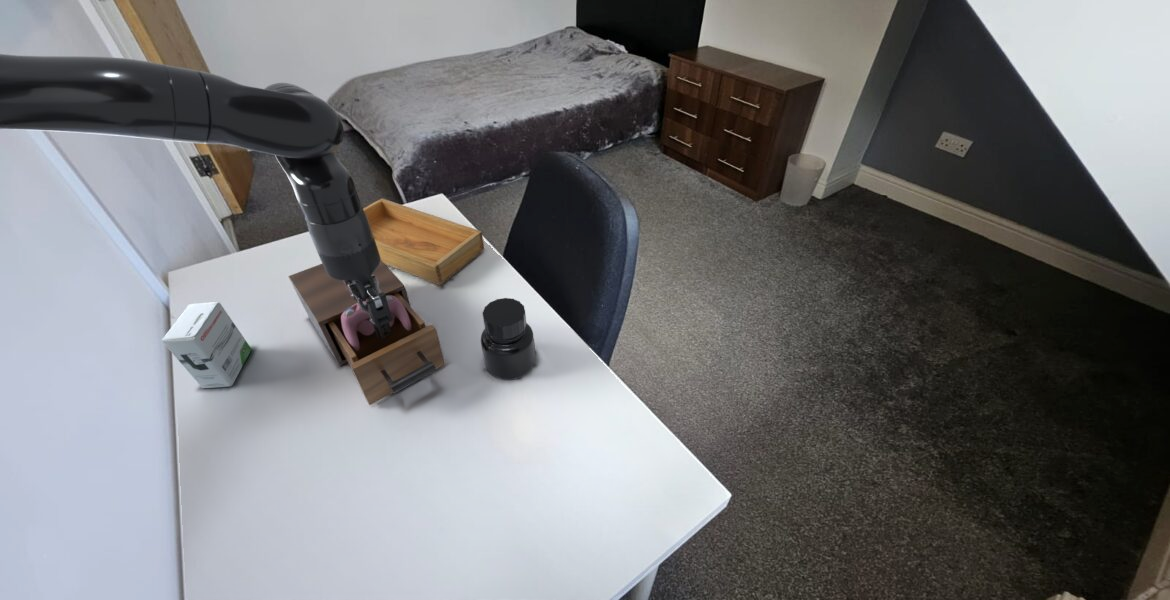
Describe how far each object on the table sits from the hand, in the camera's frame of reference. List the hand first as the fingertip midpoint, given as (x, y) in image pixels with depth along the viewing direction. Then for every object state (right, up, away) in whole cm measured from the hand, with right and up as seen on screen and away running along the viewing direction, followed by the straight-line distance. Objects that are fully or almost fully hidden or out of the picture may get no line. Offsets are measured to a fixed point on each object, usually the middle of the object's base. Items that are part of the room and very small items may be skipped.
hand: (376, 324), depth 77 cm
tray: (-6, +16, +32) cm, 36 cm away
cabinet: (-8, 0, +13) cm, 16 cm away
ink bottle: (+21, -7, +7) cm, 23 cm away
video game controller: (0, -1, +1) cm, 2 cm away
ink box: (-28, -8, +4) cm, 29 cm away
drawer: (+2, -7, +4) cm, 9 cm away
